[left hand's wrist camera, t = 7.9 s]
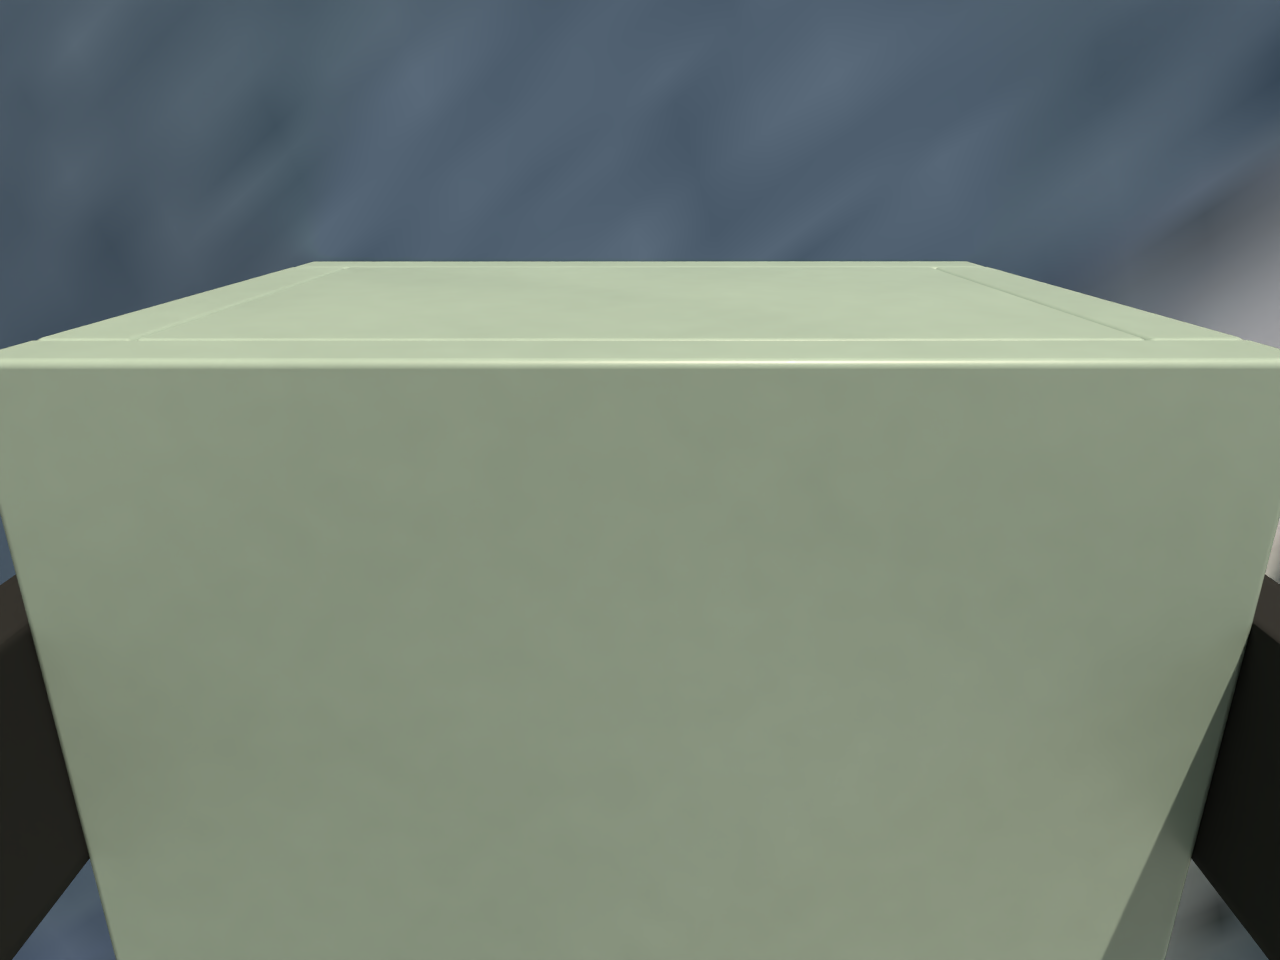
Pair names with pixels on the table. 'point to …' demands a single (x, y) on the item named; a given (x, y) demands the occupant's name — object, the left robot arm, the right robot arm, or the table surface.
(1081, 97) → the table surface
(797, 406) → the cabinet
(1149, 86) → the table surface
